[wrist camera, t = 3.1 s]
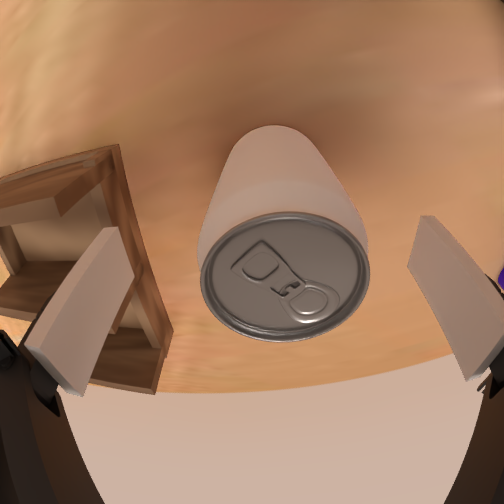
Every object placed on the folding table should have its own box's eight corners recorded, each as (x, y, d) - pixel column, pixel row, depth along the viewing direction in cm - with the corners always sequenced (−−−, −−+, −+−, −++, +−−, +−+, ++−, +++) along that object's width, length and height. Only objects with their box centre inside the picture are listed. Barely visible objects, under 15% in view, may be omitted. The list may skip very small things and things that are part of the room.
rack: (-2, 178, 19) (-56, 220, 12) (118, 144, 18) (51, 189, 11) (64, 321, 30) (38, 370, 24) (173, 331, 29) (156, 396, 23)
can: (275, 226, 22) (282, 366, 12) (208, 172, 19) (152, 291, 9) (339, 169, 19) (412, 284, 9) (272, 104, 16) (288, 148, 7)
